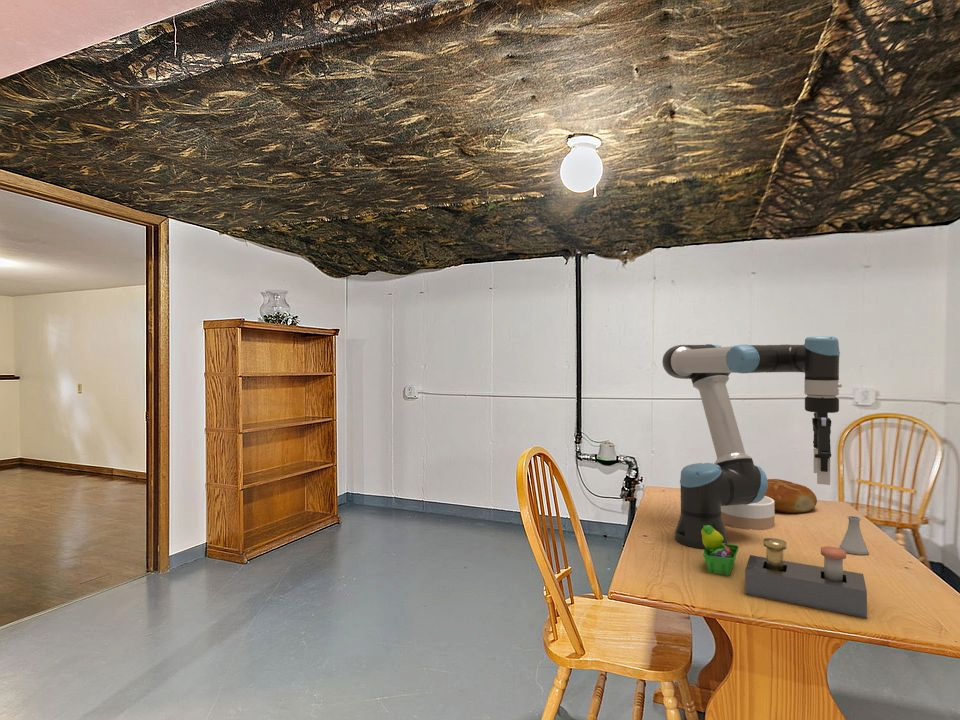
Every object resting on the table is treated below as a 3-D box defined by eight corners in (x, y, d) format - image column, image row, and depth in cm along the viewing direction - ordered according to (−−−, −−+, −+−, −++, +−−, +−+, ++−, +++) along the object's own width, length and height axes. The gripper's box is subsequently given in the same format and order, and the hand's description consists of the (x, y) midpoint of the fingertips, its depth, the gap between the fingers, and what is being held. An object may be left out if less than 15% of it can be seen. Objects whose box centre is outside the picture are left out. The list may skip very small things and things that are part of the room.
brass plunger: (762, 574, 133) (762, 542, 133) (764, 567, 137) (764, 536, 137) (786, 578, 130) (786, 546, 130) (787, 571, 134) (787, 540, 134)
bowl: (776, 519, 191) (776, 495, 191) (772, 533, 177) (772, 507, 176) (723, 512, 200) (723, 489, 200) (715, 525, 186) (715, 500, 186)
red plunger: (820, 584, 126) (820, 551, 126) (820, 577, 131) (820, 545, 131) (846, 589, 124) (846, 555, 124) (845, 581, 128) (845, 548, 128)
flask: (874, 556, 156) (874, 521, 156) (846, 554, 157) (845, 520, 157) (862, 547, 163) (861, 514, 163) (835, 546, 164) (834, 513, 164)
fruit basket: (733, 578, 141) (733, 535, 141) (697, 571, 146) (697, 529, 146) (739, 564, 151) (739, 523, 151) (705, 558, 156) (704, 518, 156)
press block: (745, 594, 132) (745, 569, 132) (750, 578, 141) (750, 555, 141) (866, 618, 120) (866, 591, 119) (863, 599, 129) (863, 573, 129)
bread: (815, 520, 190) (815, 491, 190) (741, 510, 203) (741, 483, 203) (817, 504, 209) (817, 478, 209) (749, 496, 222) (749, 472, 222)
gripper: (844, 401, 128) (844, 491, 129) (834, 393, 150) (833, 470, 151) (807, 399, 132) (807, 487, 132) (802, 392, 154) (802, 467, 154)
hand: (821, 478), depth 141 cm, fingers open, 13 cm apart
